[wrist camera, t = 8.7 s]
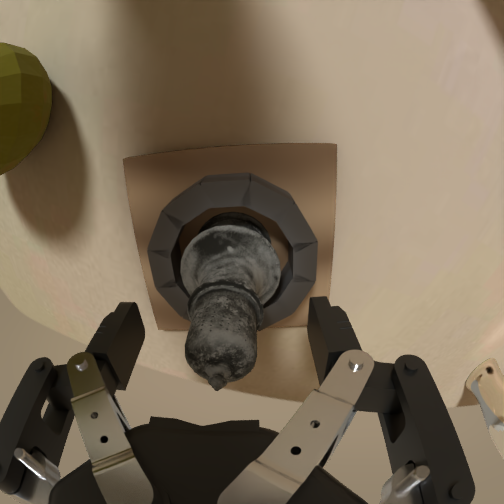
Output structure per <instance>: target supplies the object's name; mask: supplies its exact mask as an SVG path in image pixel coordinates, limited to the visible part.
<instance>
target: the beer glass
mask: <svg viewBox="0 0 504 504" xmlns="http://www.w3.org/2000/svg"><path fill="white" fill-rule="evenodd" d="M466 387H467V388H468V389H469V390H470V391H471V392H472V393H473V395H474V396H475V397H476V399H477V400H478V402H479V404H480V407H481V409H482V412H483V416H484V419H485V422H486V426H487V429H488V431H489V434H490V436H491V438H492V440H493V442H494V444H495V446H496V447H497V449H498V451H499V453H500V454H501V456H502V458H503V459H504V375H503V374H502V372H501V370H500V368H499V366H498V363H497V361H496V359H495V358H490V359H487V360H485V361H484V362H482V363H481V364H480V365H479V366H478V367H476V368H475V369H474V371H473V372H472V373H471V374H470V375H469V377H468V379H467V381H466Z"/></svg>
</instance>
